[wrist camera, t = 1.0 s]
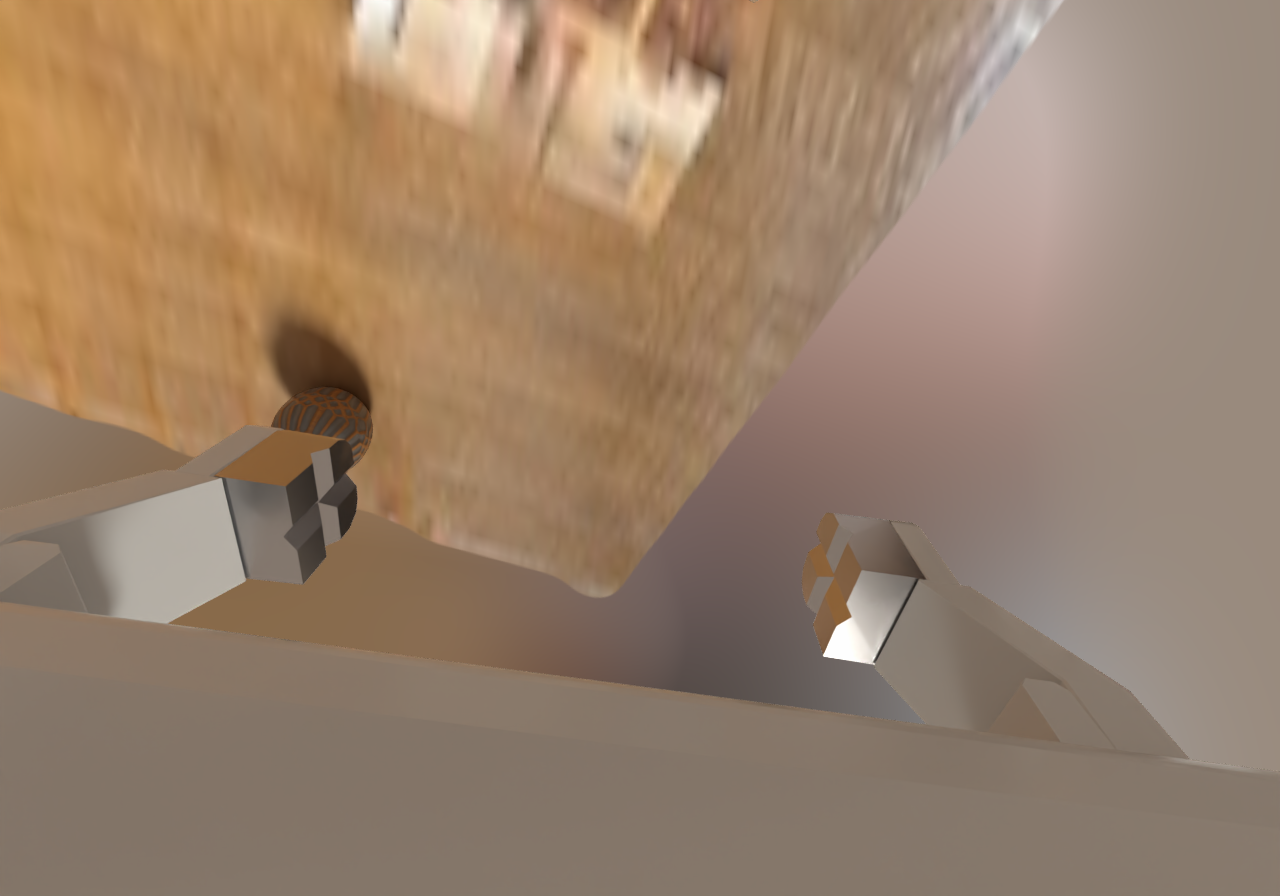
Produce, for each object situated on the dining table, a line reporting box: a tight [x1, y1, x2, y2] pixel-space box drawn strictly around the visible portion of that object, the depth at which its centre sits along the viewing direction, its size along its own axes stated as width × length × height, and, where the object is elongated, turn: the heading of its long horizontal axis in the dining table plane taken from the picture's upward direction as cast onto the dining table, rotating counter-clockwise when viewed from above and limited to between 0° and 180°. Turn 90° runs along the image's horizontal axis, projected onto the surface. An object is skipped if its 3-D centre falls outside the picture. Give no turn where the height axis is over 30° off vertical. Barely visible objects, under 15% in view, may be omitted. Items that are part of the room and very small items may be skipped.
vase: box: [271, 387, 373, 470], centre depth 44 cm, size 7×7×9 cm
